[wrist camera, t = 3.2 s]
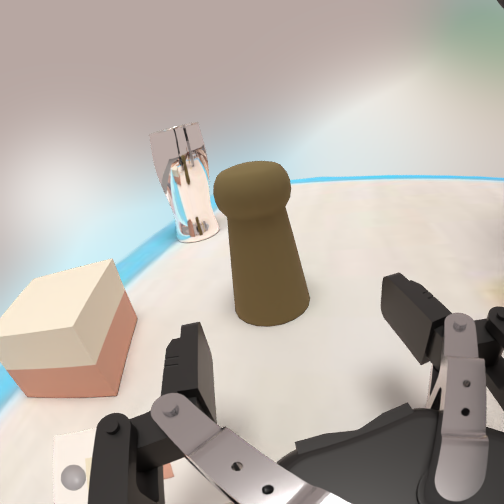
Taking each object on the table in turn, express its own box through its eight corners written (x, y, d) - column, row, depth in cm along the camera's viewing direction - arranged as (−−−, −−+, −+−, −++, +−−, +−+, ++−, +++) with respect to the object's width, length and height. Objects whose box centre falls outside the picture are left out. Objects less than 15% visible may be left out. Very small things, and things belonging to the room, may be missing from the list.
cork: (221, 320, 23) (184, 179, 18) (253, 279, 28) (229, 159, 23) (296, 331, 20) (274, 170, 15) (317, 284, 25) (303, 152, 20)
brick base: (137, 318, 25) (112, 258, 22) (116, 395, 17) (72, 326, 14) (60, 330, 24) (33, 278, 22) (27, 396, 16) (-15, 338, 14)
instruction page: (194, 402, 16) (191, 398, 16) (236, 501, 10) (234, 499, 9) (56, 438, 13) (53, 435, 13) (59, 531, 7) (55, 529, 7)
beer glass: (200, 246, 37) (172, 126, 31) (164, 242, 41) (137, 137, 34) (232, 224, 42) (210, 119, 36) (196, 223, 46) (174, 128, 40)
